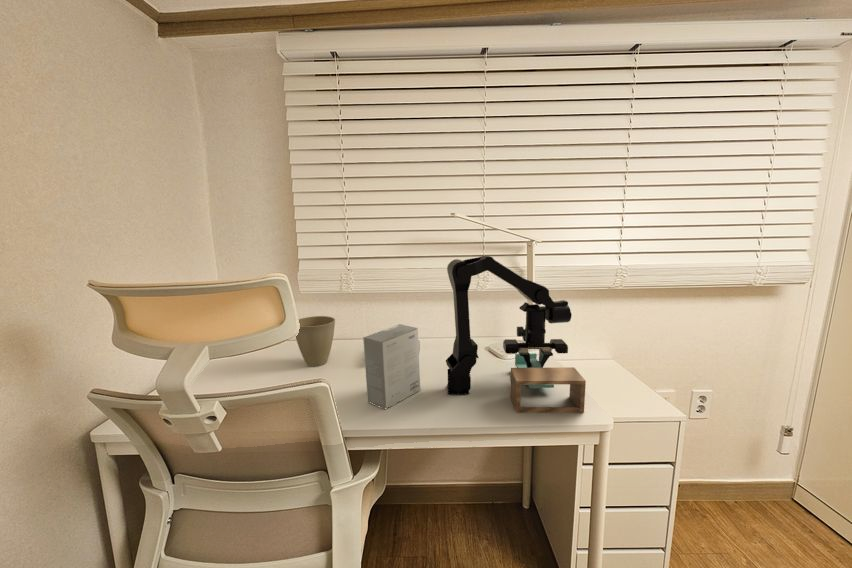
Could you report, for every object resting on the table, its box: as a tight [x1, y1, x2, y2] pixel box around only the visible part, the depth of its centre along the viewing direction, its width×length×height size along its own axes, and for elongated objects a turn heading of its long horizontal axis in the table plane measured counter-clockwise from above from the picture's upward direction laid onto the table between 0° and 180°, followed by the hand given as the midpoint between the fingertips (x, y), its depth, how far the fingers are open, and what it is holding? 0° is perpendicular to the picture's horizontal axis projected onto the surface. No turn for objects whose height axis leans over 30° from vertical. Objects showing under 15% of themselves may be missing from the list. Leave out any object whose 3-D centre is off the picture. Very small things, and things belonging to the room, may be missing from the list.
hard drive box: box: [362, 324, 421, 410], centre depth 114 cm, size 16×8×20 cm, turn 141°
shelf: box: [509, 366, 586, 413], centre depth 108 cm, size 18×9×9 cm, turn 88°
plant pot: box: [295, 315, 336, 367], centre depth 142 cm, size 15×15×16 cm
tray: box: [514, 352, 555, 389], centre depth 122 cm, size 18×7×5 cm, turn 1°
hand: (533, 372), depth 122 cm, fingers closed on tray, 3 cm apart
